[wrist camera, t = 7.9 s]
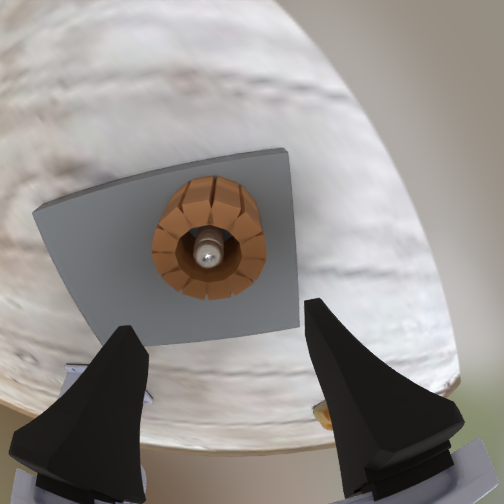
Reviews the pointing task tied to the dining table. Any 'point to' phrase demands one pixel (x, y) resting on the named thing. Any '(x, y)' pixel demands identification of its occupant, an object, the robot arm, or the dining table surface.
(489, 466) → the robot arm
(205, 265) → the metal post
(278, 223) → the grey rectangular slab
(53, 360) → the dining table surface
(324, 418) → the pastry
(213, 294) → the bead
